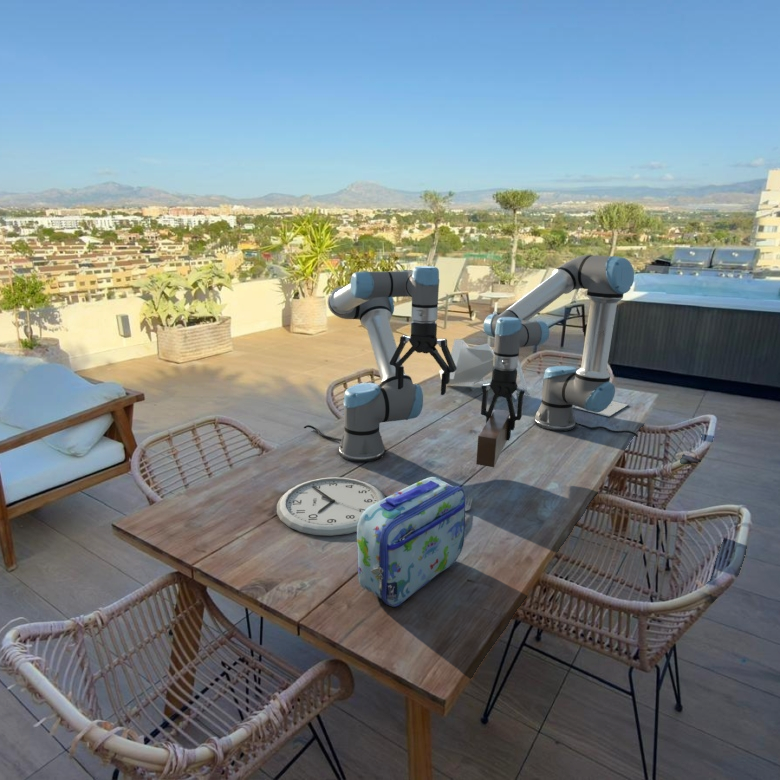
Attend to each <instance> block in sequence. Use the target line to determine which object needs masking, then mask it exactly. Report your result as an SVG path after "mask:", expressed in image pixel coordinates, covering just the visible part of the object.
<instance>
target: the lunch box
mask: <svg viewBox="0 0 780 780" xmlns="http://www.w3.org/2000/svg"><path fill="white" fill-rule="evenodd" d="M465 501H466V494H465V490H464V489H463V487H461V486H458V485H456V486H454V485H451V484H450V483H448V482H446V481H444V480H442V479H440V478H438V477H436V476H430V477H426V478H424V479H421V480H420V481H417V482H415V483H413V484H411V485H409V486H407V487H405V488H402V489H401V490H399V491H396V492H395V493H393V494H390V495H389V496H387V497H385V499H383V500H381V501H379V502H377V503H375V504H373V505H371V506H369V507H368V508H367V509H366V510H365V511H364V512H363V513H362V515H361V517H360V519H359V522H358V526H357V532H356V549H357V550H356V551H357V552H356V553H357V577H358V583H359V585H360V587H361V588H362V589H364V590H366V591H368V592H370V593H372V594H374V595H375V596H377V598H379V599H381V600H382V602H383V603H384V604H385V605H387V606H390V607H393V608H394V607H398V606H400V605H402V604H403V603H404V602H405V601H406V600H408V599H409V598H410V597H411V596H412V595H414V594H416V592H418V591H419V590H420V589H422V588H423V587H424V586H426V585H427V584H428V583H430V582H431V581H432V579H434V578H435V577H436V576H438V575H439V574H440V573H442V572H444V571H446V570H447V569H449V568H450V567H451V566H452V565H454V563H456V561H457V560H458V558H459V557H460V555H461V553H462V550H463V547H464V542H465V530H466V529H465V528H466V511H465Z"/></svg>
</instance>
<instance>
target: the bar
mask: <svg viewBox="0 0 780 780" xmlns="http://www.w3.org/2000/svg"><path fill="white" fill-rule="evenodd" d="M509 419H510V414H509V410H504V409H497V408H494V409H493V412H492V414H491V417H490V418H489V420H488V421H487V423H486V422H485V424H484V426H483V427H482V429H481V431H480V432H479V434H478V437H477V449H476V463H475V464H476V465H477V466H478V465H479V466H483V467H489V468H495V466H496V464H497V462H498V460H499V458H500V456H501V454H502V451H503V450H504V448H505V445H506V443H507V442H508V440H507V429H508V421H509Z"/></svg>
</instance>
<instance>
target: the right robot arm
mask: <svg viewBox="0 0 780 780" xmlns="http://www.w3.org/2000/svg"><path fill="white" fill-rule="evenodd" d="M634 280H635V271H634V267H633V264H632V263H631V261H630V260H629V259H627V258H626V257H620V256H615V255H593V254H584V255H580V256H577V257H575V258H572V259H569V260H568V261H566V262H564V263H562V264H561V265H560V266H558V267H557V268H555V269H554V270H553V271H552V272H551V273H550V276H549V277H548V278H547V279H546V280H544V281H542V282H541V283H540V284H538V285H537V286H536V287H535V288H533V289H532V290H530V291H529V292H528V293H527V294H525V295H524V296H523V297H521V298H520V299H519V300H517V301H516V302H515V303H513V304H512V305H510V306H509V307H508V308H506V309H505V310H504V311H502V312H501V313H500V314H498V313H497V314H493V313H492V314H488V315H487V316H486V317H485V319H484V321H483V327H482V328H483V331H484V333H485V334H486V335H487V336H488V337H493V338H494V348H493V350H494V357H493V366H494V368H493V370H492V372H491V381H490V382H489V383H483V384H482V386H481V392H482V397H481V407H480V415H481V416H485V424H486V423H487V421H488V420H489V418H490V417H491V415H492V413H493V412H494V410H495V406H496V404H497V401H498V398H504V399H506V403H507V409H508V411H509V414H510V419H509V421H508V429H507V442H508V441H510V439H511V434H512V431H514V430H515V427H516V421H521V419H522V417H523V405H524V404H523V403H524V401H523V400H524V395H525V389H524V388H523V389H522V387H519V386H518V383H517V378H518V373H517V369H516V368H517V367H518V359H519V358H520V357H519V356H520V355H519V354H520V348H526V347H527V348H528V347H533V346H535V347H536V346H539V345H543V344H545V343H546V342H547V341H548V340H549V337H550V328H549V326H548V324H547V323H546V322H545V321H544V320H543V321H542V320H533V321H531V319H533V318H534V317H536V315H538V314H539V313H540V312H542V311H543V310H544V309H546V308H547V307H548V306H550V305H551V304H553V302H555V301H556V300H558V299H559V298H560V297H561V296H563V295H567V294H571V292H573V291H574V290H577V289H579V290H580V289H583V290H587V291H586V297H587V298H588V299H589V301H590V303H589V310H588V317H587V324H586V330H585V336H584V337H585V338H584V344H583V345H584V346H583V351H582V358H581V364H580V367H579V368H577V367H575V366H569V365H568V366H567V365H557V366H550V367H547V368H546V369H545V371H544V375H543V378H542V379H543V381H542V392H541V402H540V405H539V407H538V410H537V411H536V413H535V416H534V424H535V425H536V426H537V427H539V428H542V429H544V430H549V431H556V432H567V431H572V430H574V429H575V428H576V426H580V427H583V428H586V429H589V430H597V429H602V430H605V431H608V432H609V433H615V434H624V433H629V434H632V435H633V436H635V437H639V435H638V434H637V433H636V432H634V431H632V430H613V429H610V428H608V427H606V426H600V425H599V426H588V425H586V424H582V423H579V422H576V418H575V417H576V416H575V413H574V407H576V406H577V407H580V408H583V409H586V410H588V411H593V412H601V411H603V410H605V409H606V408H607V407H608V406H609V405H610V403H611V402H612V401H614V397H615V394H616V387H615V384H614V383H612V382H611V381H610V379H611V374H610V373H609V371H608V363H609V356H610V351H611V343H612V339H613V337H612V336H613V332H614V326H615V320H616V313H617V306H618V303H619V302H620V301H621V300H623V299H624V294H626V293H628V292H629V291H630V290H631V287H633V284H634ZM490 389H491V391H492V392H493V396H492V399H491V401H490V404H489V407H488V409H487V405H488V399H489V398H488V396H489V391H490ZM515 391H516V395H518V397H517V406H516V411H515V406H514V405H515V404H514V401H513V395H512V394H513V393H514V392H515ZM573 406H574V407H573ZM588 411H587V412H588Z"/></svg>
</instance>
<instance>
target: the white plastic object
mask: <svg viewBox="0 0 780 780" xmlns="http://www.w3.org/2000/svg"><path fill="white" fill-rule="evenodd" d="M492 314H498V312H497V311H496V310H495V311H492ZM450 354H451V356H452V358H453V361H454V363H455V365H456V368H457V369H456V370H455V371H454V372H451V373H450V381H449V383H448V384H446V386H449V385H458V384H467V383H468V384H469V383H473V384H477V383H480V382H482V381H484V378H485V377H486V376H487V375H489V374H490V373H492V370H493V368H494V366H493V357H494V349H493V348H492V347H491V346H490V344H489V343H488V342H487V343H483V344H479V345H473V346H469V345H468V343H466V342H465V340H464V339H463V338H460V339H458V338H454V340H453V344H452V349H451V352H450ZM448 367H449V366H448ZM522 368H523V367H522V366H521V362H520V359H519V358H518V367H517V368H516V369H517V377H518V380H519V382H520V385H521V389H523V388H524V389H525V393H524V395H525V396H526V397H528V396H531V395H530V390H529V388H528V387H529V386H528V384H527V381H526V378H525V375H524V371H523V369H522ZM438 372H439V376H440V381H441V380H442V373H443V372H444V371H443V370H442V368H441V369H440V370H439V371H438ZM517 395H518V394H517V391H515V392H514V393H513V394H512V397H513V398H514V399H515V400H517V399H518V397H517Z"/></svg>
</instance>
